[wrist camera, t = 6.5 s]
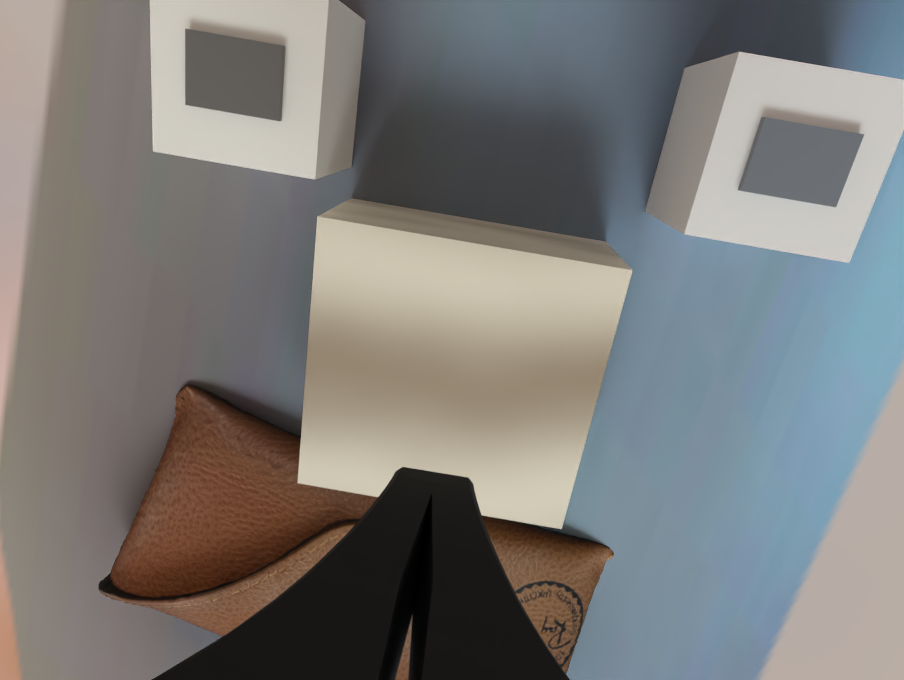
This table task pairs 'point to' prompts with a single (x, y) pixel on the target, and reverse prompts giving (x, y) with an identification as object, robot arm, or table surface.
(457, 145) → the table surface
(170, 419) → the table surface
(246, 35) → the cream block marked 2
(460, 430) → the plain birch block
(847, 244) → the cream block marked 1
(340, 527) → the sunglasses case
